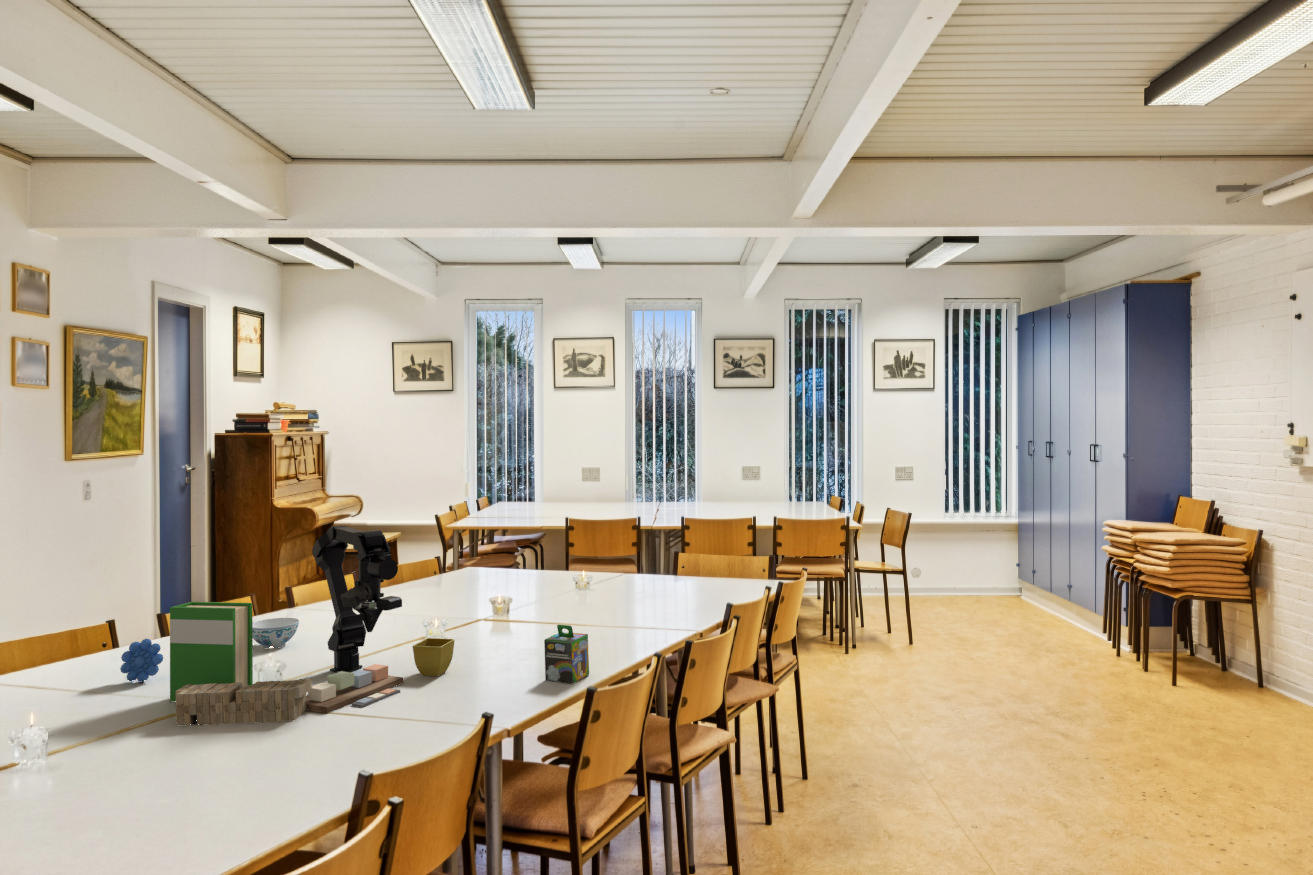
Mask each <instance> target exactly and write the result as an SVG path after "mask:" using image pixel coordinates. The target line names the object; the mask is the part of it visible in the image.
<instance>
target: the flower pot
mask: <svg viewBox="0 0 1313 875" xmlns="http://www.w3.org/2000/svg"><path fill="white" fill-rule="evenodd" d="M454 648H455V639H454V638H440V637H439V638H437V637H436V638H435V637H427V638H424V639H423V640H420V641H419V642H417V643H415V644H413V645H412V652H413V659H414V664H415V667H416V668H417V670H418V672H419V673H420V675H421V676H428V677H440V676H441V675H443V674H444V673H446V672H447V670H448V669H449V667H450V664H451V662H452V660H453V655H454Z"/></svg>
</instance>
